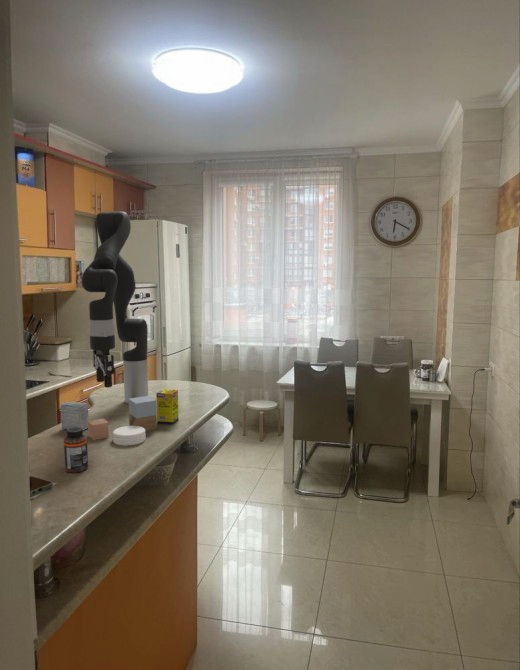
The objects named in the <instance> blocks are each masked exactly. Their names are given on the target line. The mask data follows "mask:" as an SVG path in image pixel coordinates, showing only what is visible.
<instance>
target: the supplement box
mask: <svg viewBox="0 0 520 670" xmlns="http://www.w3.org/2000/svg"><path fill="white" fill-rule="evenodd" d="M155 395H156V396H155V398H156V406H157V424H162V423H166V424H165V425H173V424H175V421H176V420H177V421H179V390H178V389H172V388H171V389H169V388H168V389H167V388H163V389H161V390H160V391H158V392H156V393H155ZM177 421H176V422H177Z"/></svg>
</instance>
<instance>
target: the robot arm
mask: <svg viewBox="0 0 520 670" xmlns="http://www.w3.org/2000/svg"><path fill="white" fill-rule="evenodd" d="M95 217H96V218H95V221H96V222H95V223H96V224H95V225H96V229H97V233H98V238H99V240H100V241H99V242H100V245H99V247H98V248H97V249H96V251H95V254H94V258H93V261H92V262H91V263H90V264H89V265H88V266H87V267H86V268H85V270H84V272H83V273H82V277H81V286H82V288H83V289H84V291H86V292H88V293H105V294H104V297H102V298H99V299H95V300H91V301H90V302H89V306H88V309H89V311H88V312H89V327H88V328H89V331H88V332H89V347H90V349H91V350H92V352H93V354H92V355H93V368H94V370H95V371H96V373H95V374H96V375H95V376H96V382H97V383H103V382H104V383H103V384H104V388H107V389H108V388H112V386H113V376H112V375H114V374H115V361H114V360H115V359H114V354H111V353H110V350H113V349H115V347H116V337H115V336H116V333H115V324H116V332H117V336H118V338H119V340H120V341H121V342H122V343H135V344H136V345H135V347H134V348H131V349H130V350H126V351H124V352H123V354H122V363H123V365H122V367H123V389H124V396H123V397H124V404H126V405H129V399H130V398H137V397H143V396H149V380H148V379H149V374H148V334H149V332H148V331H149V330H148V324H147V320H145V319H144V318H129V317H128V316H127V314H128V313H127V308H128V307H129V305H130V302H131V301H132V298H133V296H134V293H135V292H136V287H137V285H136V280H135V275H134V271H133V268H132V267H131V266H130V264H129V263H128V262H127V261H126V260H125V259H124V258H123V256H122V255H121V254H120V253H121V251H122V249H123V248H124V246H125V244H126V242H127V240H128V238H129V236H130V233H131V221H130V216H129V214H128V213H127V212H125V211H120V210H119V211H104V212H99V213H97V214H96V216H95ZM114 315H115V322H116V323H114Z"/></svg>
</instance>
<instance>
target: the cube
mask: <svg viewBox="0 0 520 670" xmlns="http://www.w3.org/2000/svg"><path fill="white" fill-rule="evenodd" d="M87 432H88V433H87V434H88V437H89V436H90V437H91V438H92V439H93V440H92V439H91V438H90V437H89V438H90V439H91V440H92V441H96V439H97V440H101V439H106V438H107V437H108V438H110V435H109V433H110V430H109V422H108V421H107V419H105V418H99V419H92V420H89V421H88V430H87Z"/></svg>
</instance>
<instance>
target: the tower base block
mask: <svg viewBox="0 0 520 670" xmlns="http://www.w3.org/2000/svg"><path fill="white" fill-rule="evenodd" d="M128 422H129V423H128V424H129V425H128V426H140V427H143V428H144V429H145V432H149V431H154V430H153V429H155V430H158V423H157V415H153V416H147V417H142V418H135V417H134V416H132V415H131V414H130V413H129V412H128ZM148 430H149V431H148Z"/></svg>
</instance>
